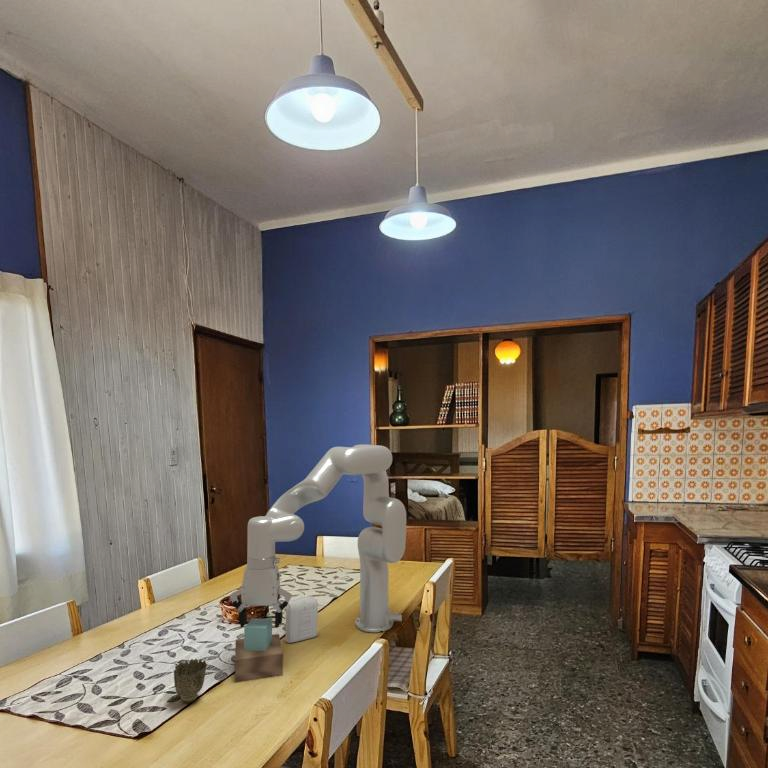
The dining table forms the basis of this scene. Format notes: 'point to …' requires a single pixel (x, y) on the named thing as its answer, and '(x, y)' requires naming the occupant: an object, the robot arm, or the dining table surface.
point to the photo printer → (301, 619)
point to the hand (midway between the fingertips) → (260, 625)
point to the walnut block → (258, 661)
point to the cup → (189, 679)
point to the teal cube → (258, 635)
